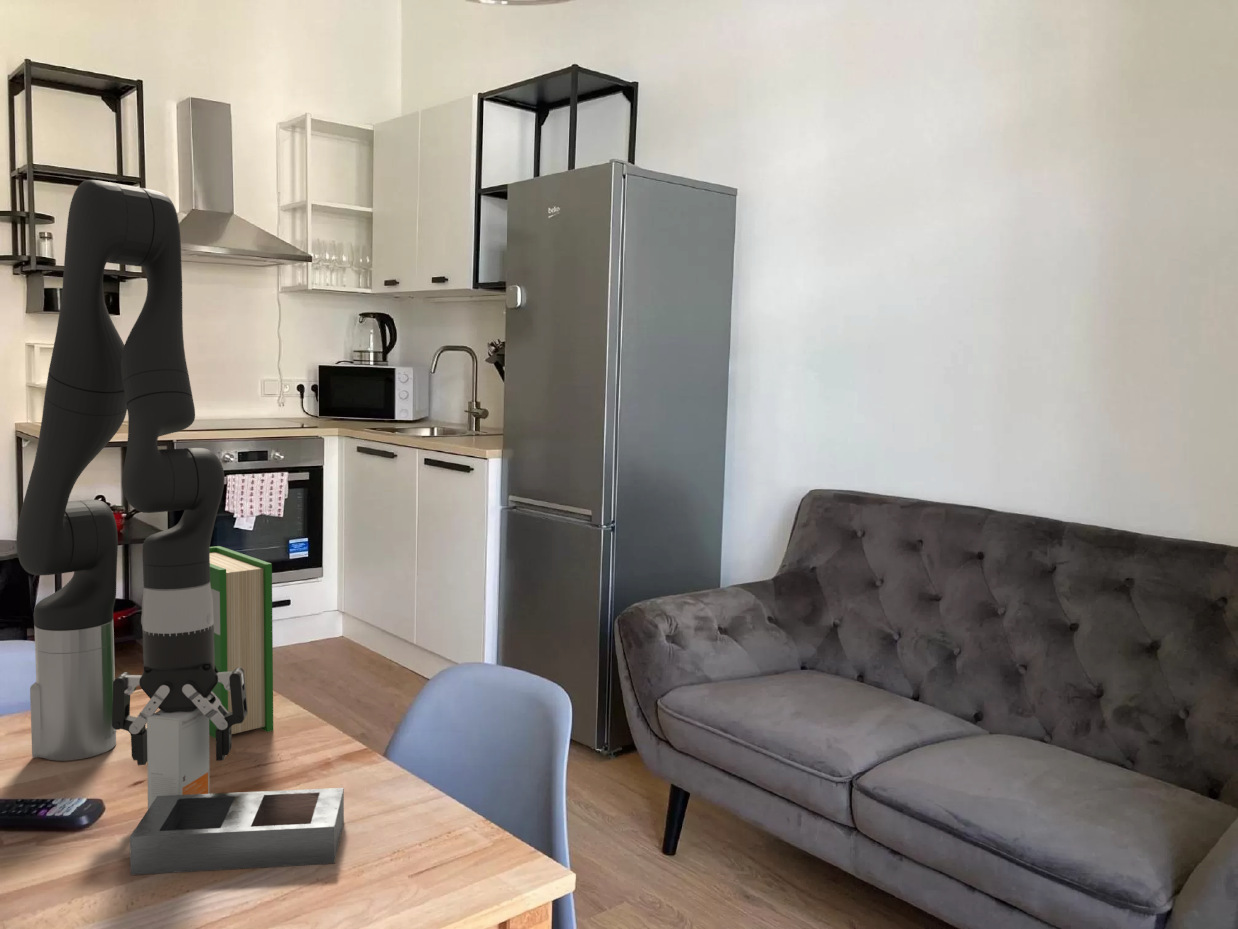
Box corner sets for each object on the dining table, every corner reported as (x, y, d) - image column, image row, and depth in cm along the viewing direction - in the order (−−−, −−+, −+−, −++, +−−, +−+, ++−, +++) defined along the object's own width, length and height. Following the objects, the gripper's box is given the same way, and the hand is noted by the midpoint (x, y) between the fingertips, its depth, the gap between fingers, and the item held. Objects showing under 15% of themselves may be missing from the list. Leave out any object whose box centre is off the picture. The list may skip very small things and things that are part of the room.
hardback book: (273, 730, 146) (271, 563, 143) (221, 743, 141) (219, 570, 138) (221, 700, 158) (219, 546, 156) (172, 710, 153) (169, 551, 151)
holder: (130, 875, 104) (129, 837, 104) (157, 830, 114) (157, 796, 114) (334, 863, 107) (334, 826, 107) (343, 821, 117) (343, 788, 117)
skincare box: (180, 822, 116) (178, 719, 115) (146, 818, 117) (144, 716, 116) (212, 800, 122) (210, 702, 121) (179, 797, 123) (178, 699, 122)
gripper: (249, 613, 122) (252, 746, 124) (121, 617, 120) (126, 752, 121) (237, 628, 115) (240, 769, 116) (101, 633, 113) (106, 777, 114)
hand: (182, 760), depth 119 cm, fingers open, 8 cm apart
